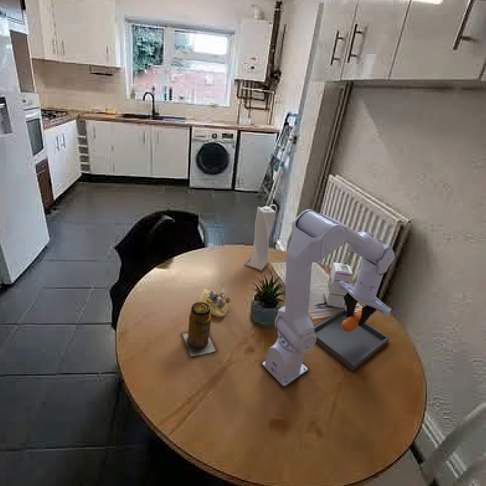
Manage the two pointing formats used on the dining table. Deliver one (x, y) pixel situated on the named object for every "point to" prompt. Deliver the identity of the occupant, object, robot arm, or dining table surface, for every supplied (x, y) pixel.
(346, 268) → the syrup box
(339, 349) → the gray tray
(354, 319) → the carrot
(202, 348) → the condiment
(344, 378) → the dining table surface
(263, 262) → the skyscraper
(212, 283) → the dining table surface
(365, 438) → the dining table surface
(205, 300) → the cake
